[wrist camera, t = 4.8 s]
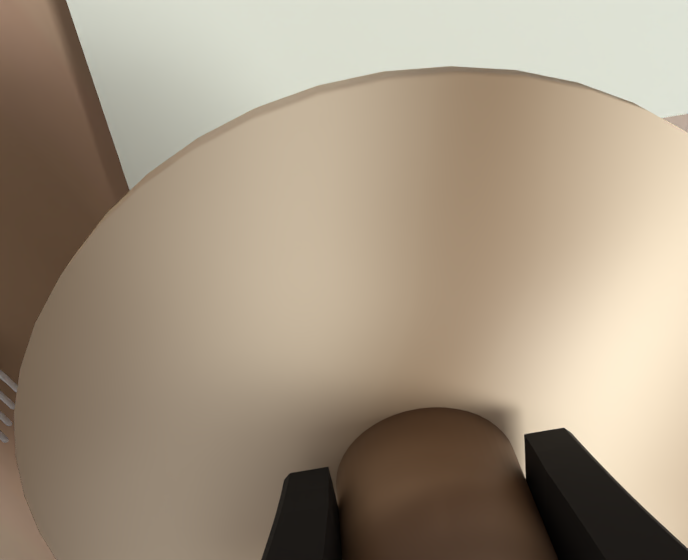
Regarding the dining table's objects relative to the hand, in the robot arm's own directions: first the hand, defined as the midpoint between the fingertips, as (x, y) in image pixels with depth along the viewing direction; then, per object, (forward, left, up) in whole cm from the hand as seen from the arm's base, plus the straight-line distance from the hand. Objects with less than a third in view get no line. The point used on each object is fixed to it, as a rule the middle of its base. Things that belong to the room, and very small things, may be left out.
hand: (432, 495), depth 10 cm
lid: (0, 0, -1) cm, 1 cm away
